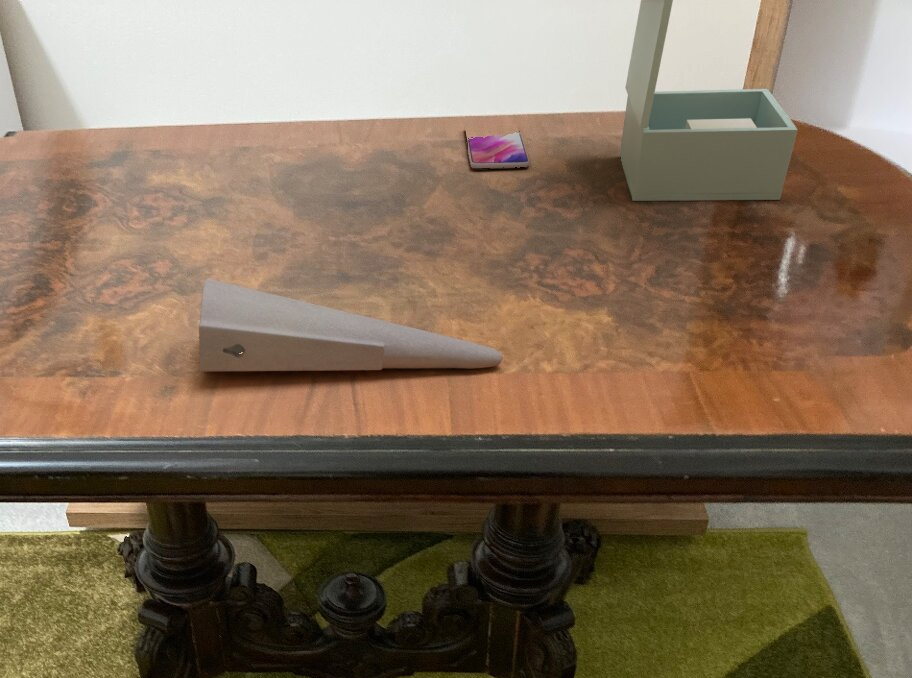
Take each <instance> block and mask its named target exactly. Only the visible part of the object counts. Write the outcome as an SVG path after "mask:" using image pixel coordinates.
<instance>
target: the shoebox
mask: <svg viewBox="0 0 912 678" xmlns="http://www.w3.org/2000/svg"><path fill="white" fill-rule="evenodd" d="M747 118H751V120H752V121H753V123H754V124H755V125H756V126H757V128H720V129H685V126H686V121H687V120H700V119H747ZM622 127H623V128H622V134H621V135H622V136H621V142H620V150H619V158H620V157H621V159H620V163H621V162H622V163H621V165H622V169H623V173H624V176H625V179H626V182H627V186H628V190H629V193H630V197H631V200H632V202H668V201H670V202H671V201H672V202H673V201H674V202H675V201H676V202H677V201H679V202H680V201H681V202H682V201H688V202H690V201H780V200H781V197H782V193H783V190H784V186H785V181H786V178H787V174H788V171H789V166H790V162H791V158H792V154H793V150H794V147H795V142H796V139H797V136H798V135H797V134H798V130H799V129H798V128H797V126H796V125H795V123H794V122H793V121H792V120H791V118H790V117H789V115H788V114H787V113H786V112H785V110H784V109H783V107H782V106H781V105H780V104H779V102H778V101H777V100H776V98H775V97H774V96H773V94H772V93H771V92H770V90H769V89H768V88H747V89H745V88H742V89H739V88H738V89H705V90H704V89H703V90H668V91H667V90H665V91H664V90H663V91H662V90H661V91H655V93H654V98H653V103H652V108H651V113H650V118H649V123H648V128H640V126H639V123H638V121H637V118H636V115H635V113H634V110H633V107H632V104H631V102H630V99H629V96H628V95H627V98H626V106H625V114H624V120H623V126H622Z"/></svg>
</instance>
